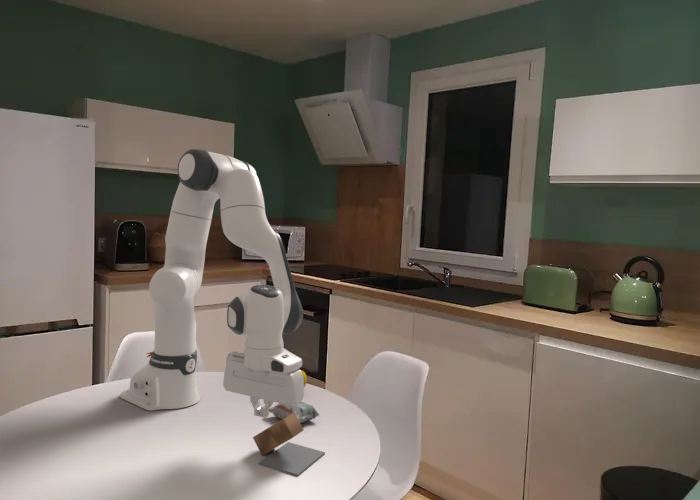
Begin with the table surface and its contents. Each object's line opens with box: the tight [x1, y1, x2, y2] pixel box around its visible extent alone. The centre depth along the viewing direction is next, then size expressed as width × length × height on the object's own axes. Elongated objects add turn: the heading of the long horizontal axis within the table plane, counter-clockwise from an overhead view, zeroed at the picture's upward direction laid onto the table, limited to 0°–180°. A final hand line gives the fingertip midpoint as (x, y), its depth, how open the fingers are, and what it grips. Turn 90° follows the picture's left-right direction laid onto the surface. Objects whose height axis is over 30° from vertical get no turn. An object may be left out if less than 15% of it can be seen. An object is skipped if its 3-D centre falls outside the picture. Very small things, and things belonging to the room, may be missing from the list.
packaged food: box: [269, 401, 320, 424], centre depth 139 cm, size 9×12×5 cm
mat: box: [257, 441, 326, 477], centre depth 117 cm, size 10×12×1 cm
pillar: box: [252, 413, 304, 456], centre depth 118 cm, size 4×4×10 cm
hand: (261, 416), depth 120 cm, fingers closed
